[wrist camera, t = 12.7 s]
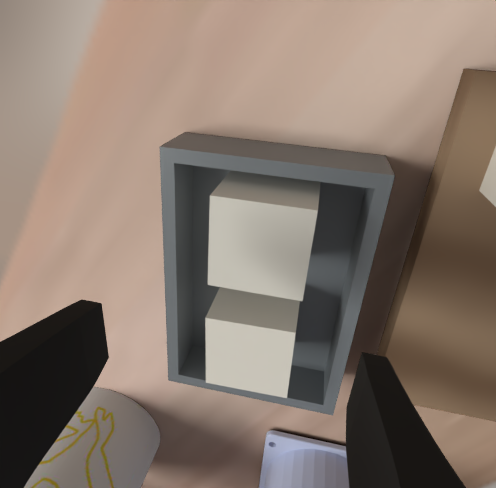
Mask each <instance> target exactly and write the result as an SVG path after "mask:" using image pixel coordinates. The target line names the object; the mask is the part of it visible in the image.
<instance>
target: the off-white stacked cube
mask: <svg viewBox="0 0 496 488" xmlns="http://www.w3.org/2000/svg"><path fill="white" fill-rule="evenodd" d="M320 183H321V182H318V181H310V180H302V179H294V178H287V177H279V176H271V175H263V174H256V173H248V172H240V171H232V170H231V171H230V172H229V173H228V174H227V176H226V177H225V178H224V179H223V180H222V182H221V183H220V184H219V185H218V186H217V188H216V189H215V190H214V191H213V192H212V194H211V195H210V210H209V249H208V285H211V286H217V287H223V288H229V289H234V290H240V291H246V292H252V293H257V294H263V295H269V296H275V297H280V298H286V299H292V300H298V301H303V295H304V290H305V284H306V278H307V272H308V266H309V260H310V254H311V248H312V242H313V236H314V231H315V225H316V219H317V213H318V204H319V194H320Z"/></svg>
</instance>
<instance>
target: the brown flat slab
mask: <svg viewBox="0 0 496 488" xmlns="http://www.w3.org/2000/svg"><path fill="white" fill-rule="evenodd" d="M495 147H496V71H485V70H473V69H464V70H463V73H462V76H461V79H460V83H459V86H458V89H457V92H456V96H455V99H454V102H453V106H452V109H451V112H450V115H449V119H448V122H447V125H446V129H445V132H444V135H443V138H442V142H441V145H440V148H439V152H438V155H437V158H436V161H435V165H434V168H433V171H432V175H431V178H430V181H429V184H428V188H427V191H426V194H425V198H424V201H423V204H422V207H421V211H420V214H419V217H418V221H417V224H416V227H415V230H414V234H413V237H412V240H411V244H410V247H409V250H408V253H407V257H406V260H405V263H404V266H403V270H402V273H401V276H400V280H399V283H398V286H397V289H396V293H395V296H394V299H393V303H392V306H391V309H390V312H389V316H388V319H387V322H386V326H385V329H384V332H383V335H382V339H381V342H380V345H379V349H378V352H377V355H379V356H384V357H387V358H388V359H389V361H390V363H391V364H392V366H393V368H394V370H395V372H396V374H397V376H398V378H399V380H400V382H401V384H402V386H403V387H404V389H405V391H406V393H407V395H408V396H409V398H410V400H411V402H412V404H413V405H417V406H422V407H427V408H431V409H436V410H441V411H446V412H451V413H456V414H461V415H466V416H471V417H476V418H481V419H486V420H491V421H495V422H496V207H495V206H494V205H493V204H492V203H491V202H490V201H489V200H488V199H487V198H486V197H485V196H484V195H483V194H482V193H481V192H480V191H479V190H480V187H481V184H482V182H483V179H484V176H485V174H486V171H487V168H488V166H489V163H490V160H491V157H492V155H493V152H494V149H495Z"/></svg>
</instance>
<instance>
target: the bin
mask: <svg viewBox="0 0 496 488" xmlns="http://www.w3.org/2000/svg"><path fill="white" fill-rule="evenodd" d="M160 168H161V195H162V221H163V248H164V275H165V301H166V328H167V355H168V380H169V381H174V382H179V383H183V384H188V385H193V386H198V387H202V388H207V389H212V390H216V391H221V392H226V393H230V394H235V395H240V396H245V397H249V398H254V399H259V400H263V401H268V402H273V403H277V404H282V405H287V406H292V407H296V408H301V409H306V410H310V411H315V412H320V413H324V414H329V415H333V413H334V409H335V405H336V401H337V398H338V394H339V390H340V386H341V382H342V378H343V374H344V370H345V367H346V363H347V359H348V355H349V351H350V347H351V343H352V340H353V336H354V332H355V328H356V324H357V320H358V316H359V313H360V309H361V305H362V301H363V297H364V293H365V289H366V285H367V282H368V278H369V274H370V270H371V266H372V262H373V258H374V255H375V251H376V247H377V243H378V239H379V235H380V231H381V227H382V224H383V220H384V216H385V212H386V208H387V204H388V200H389V197H390V193H391V189H392V185H393V181H394V177H395V175H394V173H393V171H392V168H391V166H390V164H389V162H388V160H387V158H386V156H384V155H376V154H367V153H359V152H350V151H342V150H333V149H324V148H316V147H307V146H299V145H290V144H282V143H273V142H264V141H256V140H247V139H239V138H230V137H222V136H213V135H204V134H196V133H187V132H184V133H183V134H181V135H179V136H177V137H176V138H174V139H172V140H170V141H169V142H167V143H165V144H163V145H162V146H160ZM231 170H232V171H240V172H248V173H256V174H263V175H271V176H279V177H287V178H294V179H302V180H310V181H318V182H321V183H320V194H319V204H318V213H317V219H316V225H315V231H314V236H313V242H312V248H311V254H310V260H309V266H308V272H307V278H306V284H305V290H304V295H303V301H300V304H299V312H298V319H297V327H296V335H295V342H294V349H293V357H292V364H291V371H290V379H289V386H288V394H287V398H283V397H278V396H272V395H267V394H262V393H257V392H252V391H247V390H241V389H236V388H231V387H226V386H221V385H216V384H210V383H206V328H205V318H206V316H207V313H208V311H209V309H210V307H211V305H212V303H213V301H214V299H215V297H216V294H217V292H218V290H219V288H220V287H217V286H211V285H208V249H209V210H210V195H211V194H212V192H213V191H214V190H215V189H216V188H217V186H218V185H219V184H220V183H221V182H222V180H223V179H224V178H225V177H226V176H227V174H228V173H229V172H230V171H231Z"/></svg>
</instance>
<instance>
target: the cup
mask: <svg viewBox="0 0 496 488" xmlns="http://www.w3.org/2000/svg"><path fill="white" fill-rule="evenodd" d="M159 444H160V432H159V429H158V427H157V425H156V423H155V421H154V420H153V418H152V417H151V416H150V414H149V413H148V412H147V411H146V410H145V409H144V408H143V407H141V406H140V405H139V404H138V403H136V402H135V401H133V400H132V399H130V398H128V397H126V396H124V395H122V394H120V393H117V392H115V391H112V390H108V389H104V388H98V387H93V388H92V390H91V391H90V393H89V394H88V396H87V397H86V399H85V400H84V402H83V403H82V404H81V406H80V407H79V409H78V410H77V412H76V413H75V414H74V416H73V417H72V419H71V420H70V421H69V423H68V424H67V426H66V427H65V428H64V430H63V431H62V433H61V434H60V435H59V437H58V438H57V440H56V441H55V442H54V444H53V445H52V447H51V448H50V449H49V451H48V452H47V454H46V455H45V456H44V458H43V459H42V461H41V462H40V464H39V465H38V466H37V468H36V469H35V471H34V473H33V474H32V476H31V477H30V479H29V480H28V482H27V483H26V485H25V487H24V488H141V486H142V484H143V481H144V479H145V477H146V474H147V472H148V470H149V468H150V465H151V463H152V461H153V458H154V456H155V454H156V452H157V449H158V447H159Z"/></svg>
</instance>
